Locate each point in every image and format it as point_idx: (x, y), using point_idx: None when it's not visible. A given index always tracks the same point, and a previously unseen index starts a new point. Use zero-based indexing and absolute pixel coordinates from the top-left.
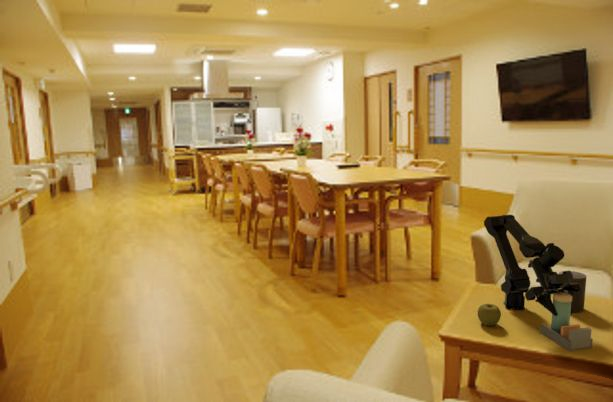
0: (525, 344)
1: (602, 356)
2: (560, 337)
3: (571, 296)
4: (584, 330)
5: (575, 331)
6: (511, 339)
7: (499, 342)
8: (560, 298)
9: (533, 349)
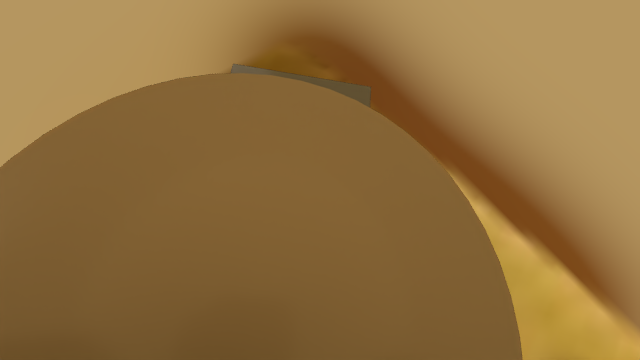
0: (498, 258)
1: (266, 67)
2: None
3: (61, 145)
4: (286, 73)
5: (350, 84)
6: (539, 330)
7: (605, 321)
8: (445, 178)
9: (487, 207)
